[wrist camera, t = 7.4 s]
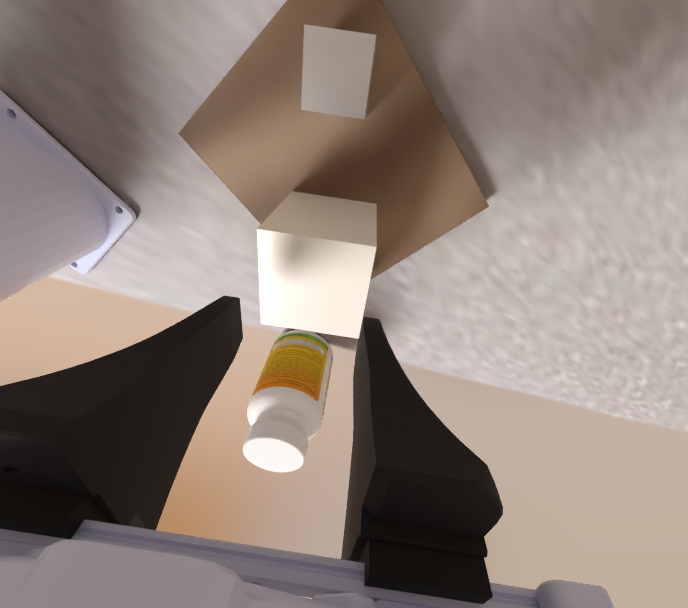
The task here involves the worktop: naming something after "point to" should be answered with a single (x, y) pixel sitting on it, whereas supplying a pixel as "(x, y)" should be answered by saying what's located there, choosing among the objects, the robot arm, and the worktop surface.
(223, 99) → the board
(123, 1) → the worktop surface
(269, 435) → the supplement bottle
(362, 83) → the post
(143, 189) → the worktop surface
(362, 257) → the cream rectangular block
